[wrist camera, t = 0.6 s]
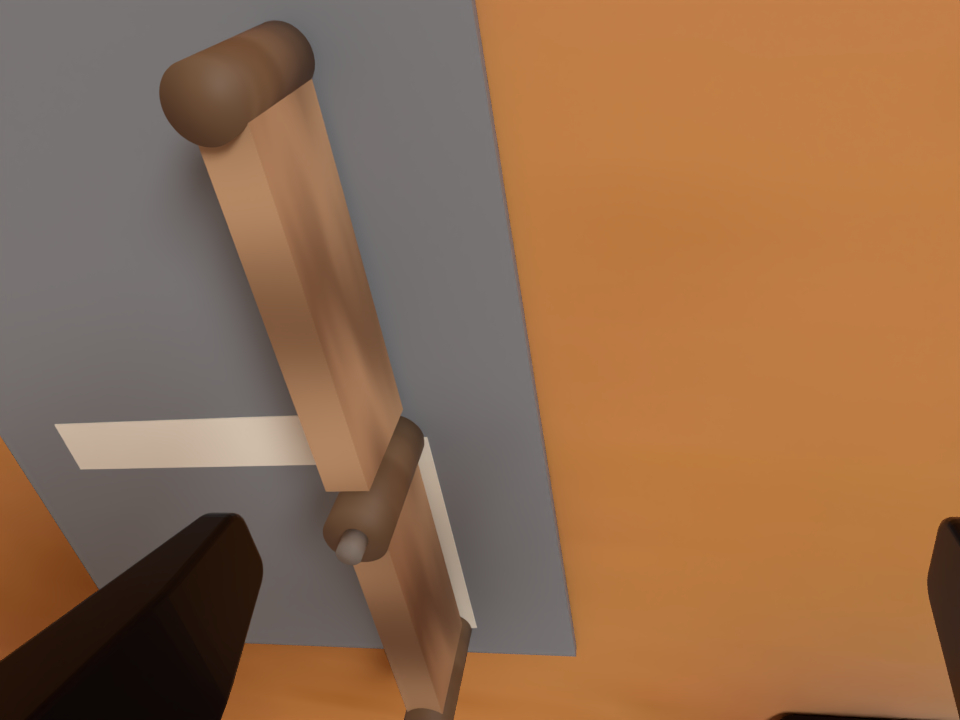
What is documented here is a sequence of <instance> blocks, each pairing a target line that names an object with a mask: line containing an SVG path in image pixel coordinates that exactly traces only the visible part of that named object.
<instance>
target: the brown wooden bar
mask: <svg viewBox="0 0 960 720" xmlns="http://www.w3.org/2000/svg"><path fill="white" fill-rule="evenodd" d="M314 70H315V58H314V53H313V50H312V48H311V45H310V43H309V42H308V40H307V39H306V37H305V36H304V35H303V34H302V33H301V32H300V31H299V30H298V29H297V28H296V27H294V26H293V25H291V24H289V23H286V22H283V21H277V20H273V21H267V22H264V23H262V24H260V25H258V26H255V27H253V28H251V29H249V30H246V31H244V32H242V33H240V34H238V35H235V36H233V37H231V38H229V39H226V40H224V41H222V42H220V43H218V44H215V45H213V46H211V47H209V48H207V49H204V50H202V51H200V52H198V53H195V54H193V55H191V56H189V57H187V58H184V59H182V60H180V61H178V62H175V63H174V64H172V65H171V66H170V67H169V68H168V69H167V70H166V71H165V72H164V74H163V76H162V79H161V82H160V87H159V97H160V103H161V107H162V110H163V112H164V114H165V116H166V118H167V120H168V121H169V123H170V124H171V126H172V127H173V128H174V129H175V130H176V131H177V132H178V133H179V134H180V135H181V136H182V137H184V138H185V139H186V140H188V141H190V142H192V143H194V144H196V145H198V146H199V149H200V152H201V154H202V157H203V160H204V163H205V165H206V168H207V171H208V173H209V176H210V179H211V181H212V184H213V187H214V190H215V192H216V195H217V198H218V200H219V203H220V206H221V209H222V211H223V214H224V217H225V219H226V222H227V225H228V228H229V230H230V233H231V236H232V238H233V241H234V244H235V246H236V249H237V252H238V255H239V257H240V260H241V263H242V265H243V268H244V271H245V274H246V276H247V279H248V282H249V284H250V287H251V290H252V293H253V295H254V298H255V301H256V303H257V306H258V309H259V311H260V314H261V317H262V320H263V322H264V325H265V328H266V330H267V333H268V336H269V339H270V341H271V344H272V347H273V349H274V352H275V355H276V358H277V360H278V363H279V366H280V368H281V371H282V374H283V376H284V379H285V382H286V385H287V387H288V390H289V393H290V395H291V398H292V401H293V404H294V406H295V409H296V412H297V414H298V417H299V420H300V422H301V425H302V428H303V431H304V433H305V436H306V439H307V441H308V444H309V447H310V450H311V452H312V455H313V458H314V460H315V463H316V466H317V469H318V471H319V474H320V477H321V479H322V482H323V485H324V487H325V490H326V492H339V491H369V490H370V488H371V486H372V483H373V481H374V478H375V476H376V473H377V471H378V469H379V466H380V464H381V461H382V459H383V457H384V454H385V452H386V449H387V447H388V444H389V442H390V440H391V437H392V435H393V432H394V430H395V428H396V425H397V423H398V420H399V418H400V415H401V413H402V411H403V407H402V404H401V400H400V396H399V393H398V389H397V385H396V382H395V378H394V375H393V371H392V367H391V364H390V360H389V356H388V353H387V349H386V346H385V342H384V338H383V335H382V331H381V327H380V324H379V320H378V316H377V313H376V309H375V306H374V302H373V298H372V295H371V291H370V287H369V284H368V280H367V277H366V273H365V269H364V266H363V262H362V258H361V255H360V251H359V248H358V244H357V240H356V237H355V233H354V229H353V226H352V222H351V218H350V215H349V211H348V208H347V204H346V200H345V197H344V193H343V189H342V186H341V182H340V179H339V175H338V171H337V168H336V164H335V160H334V157H333V153H332V150H331V146H330V142H329V139H328V135H327V131H326V128H325V124H324V121H323V117H322V113H321V110H320V106H319V102H318V99H317V95H316V91H315V88H314V84H313V81H312V78H313V75H314Z"/></svg>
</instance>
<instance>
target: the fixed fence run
mask: <svg viewBox="0 0 960 720" xmlns="http://www.w3.org/2000/svg"><path fill="white" fill-rule="evenodd" d="M423 448H424V435H423V433H422V431H421V429H420V428H419V427H418V426H417V425H416V424H415V423H414V422H412V421H411V420H409V419H407V418H405V417H402V416H400V418H399V420H398V423H397V425H396V428H395V430H394V432H393V435H392V437H391V440H390V442H389V444H388V447H387V449H386V452H385V454H384V457H383V459H382V461H381V464H380V466H379V469H378V471H377V473H376V476H375V478H374V481H373V483H372V486H371V488H370V490H369V491H340V492H339V494H338V496H337V498H336V500H335V502H334V505H333V507H332V509H331V511H330V513H329V515H328V518H327V520H326V522H325V524H324V526H323V537H324V539H325V541H326V543H327V545H328V546H329V547H330V548H331V549H332V550H333V551H334V552H335V554H336V557H337V558H338V560H339V561H341V562H342V563H344V564H347V565H353V566H354V569H355V571H356V574H357V577H358V580H359V582H360V585H361V588H362V590H363V593H364V596H365V598H366V601H367V604H368V607H369V609H370V612H371V615H372V617H373V620H374V623H375V626H376V628H377V631H378V634H379V636H380V639H381V642H382V645H383V647H384V650H385V653H386V655H387V658H388V661H389V663H390V666H391V669H392V672H393V674H394V677H395V680H396V682H397V685H398V688H399V691H400V693H401V696H402V699H403V701H404V704H405V707H406V714H405V717H404V720H453V719H454V715H455V710H456V705H457V700H458V695H459V690H460V686H461V681H462V676H463V671H464V666H465V661H466V656H467V652H468V647H469V642H470V637H471V632H472V628H471V626H470V624H469V623H468V622H467V621H466V620H465V619H464V618H462V617H460V614H459V610H458V607H457V603H456V600H455V596H454V592H453V589H452V585H451V581H450V578H449V574H448V570H447V567H446V563H445V560H444V556H443V552H442V549H441V545H440V541H439V538H438V534H437V531H436V527H435V523H434V520H433V516H432V512H431V509H430V505H429V502H428V498H427V494H426V491H425V487H424V483H423V480H422V476H421V473H420V469H419V465H418V462H419V459H420V457H421V454H422V451H423Z"/></svg>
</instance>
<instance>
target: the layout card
mask: <svg viewBox="0 0 960 720" xmlns="http://www.w3.org/2000/svg"><path fill="white" fill-rule="evenodd" d="M273 20H277V21H283V22H286V23H289V24H291V25H293V26H294V27H296V28H297V29H298V30H299V31H300V32H301V33H302V34H303V35H304V36H305V37H306V39H307V40H308V42H309V43H310V45H311V48H312V50H313V53H314V58H315V70H314V75H313V78H312V81H313V84H314V88H315V91H316V95H317V99H318V102H319V106H320V110H321V113H322V117H323V121H324V124H325V128H326V131H327V135H328V139H329V142H330V146H331V150H332V153H333V157H334V160H335V164H336V168H337V171H338V175H339V179H340V182H341V186H342V189H343V193H344V197H345V200H346V204H347V208H348V211H349V215H350V218H351V222H352V226H353V229H354V233H355V237H356V240H357V244H358V248H359V251H360V255H361V258H362V262H363V266H364V269H365V273H366V277H367V280H368V284H369V287H370V291H371V295H372V298H373V302H374V306H375V309H376V313H377V316H378V320H379V324H380V327H381V331H382V335H383V338H384V342H385V346H386V349H387V353H388V356H389V360H390V364H391V367H392V371H393V375H394V378H395V382H396V385H397V389H398V393H399V396H400V400H401V404H402V407H403V411H402V413H401V415H400V416H402V417H405V418H407V419H409V420H411V421H412V422H414V423H415V424H416V425H417V426H418V427H419V428H420V429H421V431H422V433H423V435H424V448H423V451H422V454H421V457H420V459H419V462H418V465H419V469H420V473H421V476H422V480H423V483H424V487H425V491H426V494H427V498H428V502H429V505H430V509H431V512H432V516H433V520H434V523H435V527H436V531H437V534H438V538H439V541H440V545H441V549H442V552H443V556H444V560H445V563H446V567H447V570H448V574H449V578H450V581H451V585H452V589H453V592H454V596H455V600H456V603H457V607H458V610H459V614H460V617H462V618H464V619H465V620H466V621H467V622H468V623H469V624H470V626H471V628H472V632H471V637H470V642H469V647H468V652H478V653H503V654H527V655H552V656H576V641H575V635H574V628H573V622H572V616H571V609H570V603H569V597H568V590H567V584H566V577H565V571H564V565H563V558H562V552H561V546H560V539H559V533H558V527H557V520H556V514H555V507H554V501H553V495H552V488H551V482H550V476H549V469H548V463H547V456H546V450H545V444H544V437H543V431H542V425H541V418H540V412H539V405H538V399H537V393H536V386H535V380H534V374H533V367H532V361H531V354H530V348H529V342H528V335H527V329H526V323H525V316H524V310H523V303H522V297H521V291H520V284H519V278H518V272H517V265H516V259H515V252H514V246H513V240H512V233H511V227H510V221H509V214H508V208H507V201H506V195H505V189H504V182H503V176H502V170H501V163H500V157H499V150H498V144H497V138H496V131H495V125H494V119H493V112H492V106H491V100H490V93H489V87H488V80H487V74H486V68H485V61H484V55H483V49H482V42H481V36H480V29H479V23H478V17H477V10H476V4H475V0H0V436H1V437H2V439H3V441H4V442H5V444H6V445H7V447H8V448H9V450H10V451H11V453H12V455H13V456H14V458H15V459H16V461H17V462H18V464H19V465H20V467H21V469H22V470H23V472H24V473H25V475H26V476H27V478H28V480H29V481H30V483H31V484H32V486H33V487H34V489H35V490H36V492H37V494H38V495H39V497H40V498H41V500H42V501H43V503H44V504H45V506H46V508H47V509H48V511H49V512H50V514H51V515H52V517H53V518H54V520H55V522H56V523H57V525H58V526H59V528H60V529H61V531H62V532H63V534H64V536H65V537H66V539H67V540H68V542H69V543H70V545H71V547H72V548H73V550H74V551H75V553H76V554H77V556H78V557H79V559H80V561H81V562H82V564H83V565H84V567H85V568H86V570H87V571H88V573H89V575H90V576H91V578H92V579H93V581H94V582H95V584H96V585H97V587H98V589H101V588H102V587H103V586H105V585H106V584H108V583H109V582H110V581H112V580H113V579H114V578H116V577H117V576H119V575H120V574H121V573H123V572H124V571H126V570H127V569H128V568H130V567H131V566H132V565H134V564H135V563H137V562H138V561H139V560H141V559H142V558H144V557H145V556H146V555H148V554H149V553H150V552H152V551H153V550H155V549H156V548H157V547H159V546H160V545H162V544H163V543H164V542H166V541H167V540H168V539H170V538H171V537H173V536H174V535H175V534H177V533H178V532H179V531H181V530H182V529H184V528H185V527H186V526H188V525H189V524H191V523H192V522H193V521H195V520H196V519H197V518H199V517H200V516H202V515H204V514H206V513H236V514H239V515H240V516H241V517H242V518H243V519H244V520H245V522H246V524H247V527H248V529H249V531H250V533H251V536H252V538H253V540H254V542H255V545H256V547H257V549H258V552H259V554H260V556H261V559H262V563H263V579H262V584H261V587H260V591H259V594H258V598H257V601H256V605H255V608H254V612H253V615H252V619H251V622H250V626H249V630H248V633H247V637H246V640H245V643H256V644H280V645H305V646H330V647H354V648H379V649H384V647H383V645H382V642H381V639H380V636H379V634H378V631H377V628H376V626H375V623H374V620H373V617H372V615H371V612H370V609H369V607H368V604H367V601H366V598H365V596H364V593H363V590H362V588H361V585H360V582H359V580H358V577H357V574H356V571H355V569H354V566H353V565H347V564H344V563H342V562H341V561H339V560H338V558H337V557H336V554H335V552H334V551H333V550H332V549H331V548H330V547H329V546H328V545H327V543H326V541H325V539H324V537H323V526H324V524H325V522H326V520H327V518H328V515H329V513H330V511H331V509H332V507H333V505H334V502H335V500H336V498H337V496H338V494H339V492H340V491H339V492H326V490H325V487H324V485H323V482H322V479H321V477H320V474H319V471H318V469H317V466H316V463H315V460H314V458H313V455H312V452H311V450H310V447H309V444H308V441H307V439H306V436H305V433H304V431H303V428H302V425H301V422H300V420H299V417H298V414H297V412H296V409H295V406H294V404H293V401H292V398H291V395H290V393H289V390H288V387H287V385H286V382H285V379H284V376H283V374H282V371H281V368H280V366H279V363H278V360H277V358H276V355H275V352H274V349H273V347H272V344H271V341H270V339H269V336H268V333H267V330H266V328H265V325H264V322H263V320H262V317H261V314H260V311H259V309H258V306H257V303H256V301H255V298H254V295H253V293H252V290H251V287H250V284H249V282H248V279H247V276H246V274H245V271H244V268H243V265H242V263H241V260H240V257H239V255H238V252H237V249H236V246H235V244H234V241H233V238H232V236H231V233H230V230H229V228H228V225H227V222H226V219H225V217H224V214H223V211H222V209H221V206H220V203H219V200H218V198H217V195H216V192H215V190H214V187H213V184H212V181H211V179H210V176H209V173H208V171H207V168H206V165H205V163H204V160H203V157H202V154H201V152H200V149H199V146H198V145H196V144H194V143H192V142H190V141H188V140H186V139H185V138H184V137H182V136H181V135H180V134H179V133H178V132H177V131H176V130H175V129H174V128H173V127H172V126H171V124H170V123H169V121H168V120H167V118H166V116H165V114H164V112H163V110H162V107H161V103H160V97H159V87H160V82H161V79H162V76H163V74H164V72H165V71H166V70H167V69H168V68H169V67H170V66H171V65H172V64H174V63H175V62H178V61H180V60H182V59H184V58H187V57H189V56H191V55H193V54H195V53H198V52H200V51H202V50H204V49H207V48H209V47H211V46H213V45H215V44H218V43H220V42H222V41H224V40H226V39H229V38H231V37H233V36H235V35H238V34H240V33H242V32H244V31H246V30H249V29H251V28H253V27H255V26H258V25H260V24H262V23H264V22H267V21H273Z"/></svg>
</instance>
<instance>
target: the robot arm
mask: <svg viewBox="0 0 960 720" xmlns="http://www.w3.org/2000/svg"><path fill="white" fill-rule="evenodd" d="M262 579H263V563H262V559H261V556H260V554H259V552H258V549H257V547H256V545H255V542H254V540H253V538H252V536H251V533H250V531H249V529H248V527H247V524H246V522H245V520H244V519H243V518H242V517H241V516H240V515H239V514H236V513H206V514H204V515H202V516H200V517H199V518H197V519H196V520H195V521H193V522H192V523H191V524H189V525H188V526H186V527H185V528H184V529H182V530H181V531H179V532H178V533H177V534H175V535H174V536H173V537H171V538H170V539H168V540H167V541H166V542H164V543H163V544H162V545H160V546H159V547H157V548H156V549H155V550H153V551H152V552H150V553H149V554H148V555H146V556H145V557H144V558H142V559H141V560H139V561H138V562H137V563H135V564H134V565H132V566H131V567H130V568H128V569H127V570H126V571H124V572H123V573H121V574H120V575H119V576H117V577H116V578H114V579H113V580H112V581H110V582H109V583H108V584H106V585H105V586H103V587H102V588H101V589H99V590H98V591H97V592H95V593H94V594H92V595H91V596H90V597H88V598H87V599H85V600H84V601H83V602H81V603H80V604H79V605H77V606H76V607H74V608H73V609H72V610H70V611H69V612H67V613H66V614H65V615H63V616H62V617H61V618H59V619H58V620H56V621H55V622H54V623H52V624H51V625H49V626H48V627H47V628H45V629H44V630H43V631H41V632H40V633H38V634H37V635H36V636H34V637H33V638H31V639H30V640H29V641H27V642H26V643H25V644H23V645H22V646H20V647H19V648H18V649H16V650H15V651H13V652H12V653H11V654H9V655H8V656H7V657H5V658H4V659H2V660H1V661H0V720H221V718H222V715H223V712H224V709H225V707H226V704H227V701H228V698H229V695H230V692H231V689H232V685H233V682H234V679H235V675H236V672H237V668H238V665H239V661H240V658H241V654H242V651H243V647H244V644H245V640H246V637H247V633H248V630H249V626H250V622H251V619H252V615H253V612H254V608H255V605H256V601H257V598H258V594H259V591H260V587H261V584H262ZM927 586H928V595H929V600H930V604H931V608H932V612H933V616H934V620H935V624H936V628H937V632H938V636H939V640H940V644H941V647H942V651H943V655H944V659H945V663H946V667H947V671H948V675H949V679H950V683H951V687H952V690H953V694H954V698H955V702H956V706H957V710H958V714H959V718H960V517H949V518H946V519H944V520H943V521H942V522H941V524H940V526H939V528H938V532H937V536H936V541H935V545H934V550H933V554H932V558H931V563H930V567H929V571H928V579H927ZM781 720H871V719H853V718H834V717H816V716H798V715H791V716H786V717H783V718H782V719H781Z"/></svg>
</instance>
